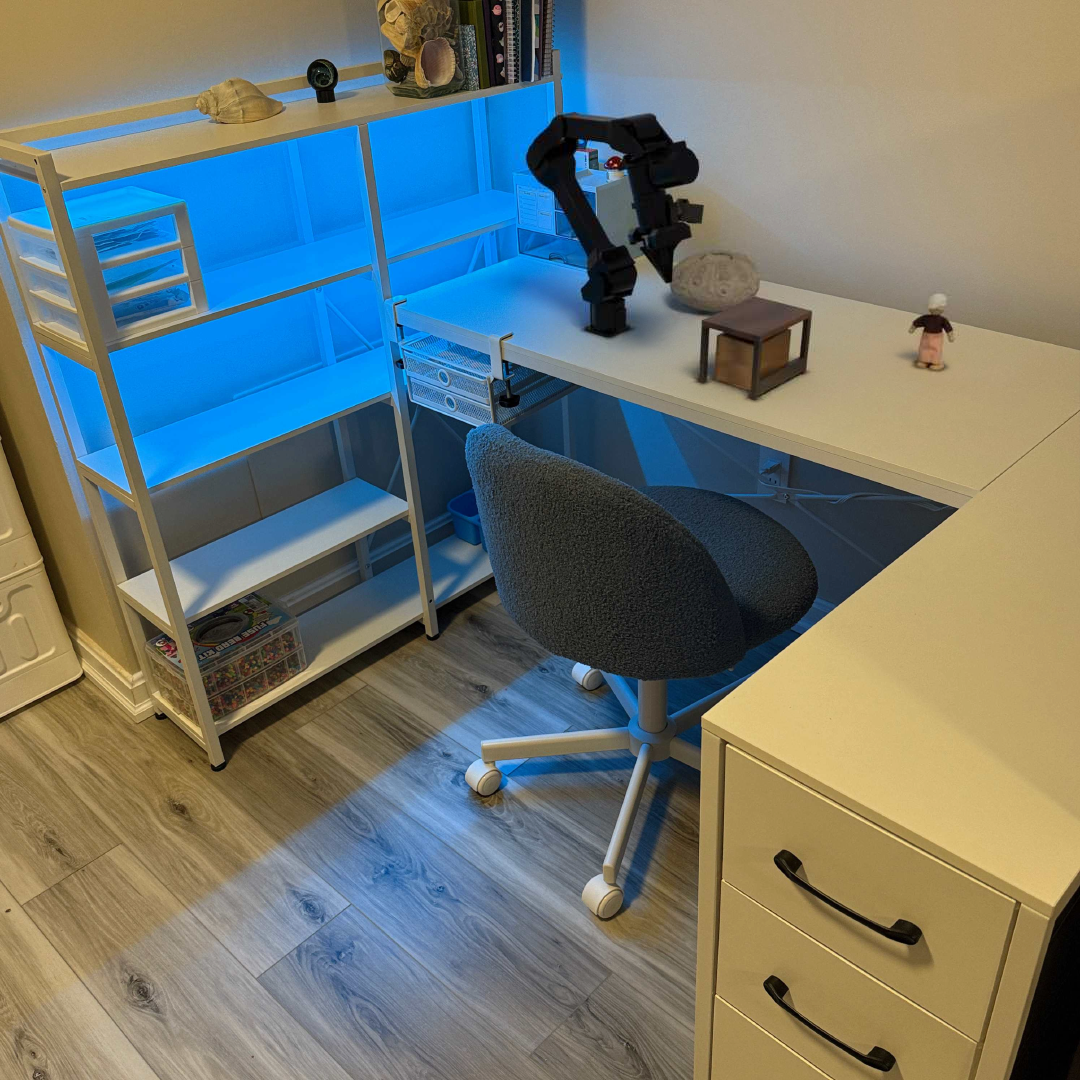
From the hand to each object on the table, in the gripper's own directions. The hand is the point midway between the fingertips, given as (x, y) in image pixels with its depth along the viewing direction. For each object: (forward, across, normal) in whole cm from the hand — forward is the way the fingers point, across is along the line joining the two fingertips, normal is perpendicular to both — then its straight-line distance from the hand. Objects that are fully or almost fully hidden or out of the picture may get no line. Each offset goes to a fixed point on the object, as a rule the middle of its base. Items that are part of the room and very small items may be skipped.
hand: (668, 282), depth 184 cm
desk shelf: (+18, -12, -7) cm, 23 cm away
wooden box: (+18, -12, -7) cm, 22 cm away
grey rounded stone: (+10, +23, -14) cm, 29 cm away
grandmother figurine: (+24, -16, -37) cm, 47 cm away
